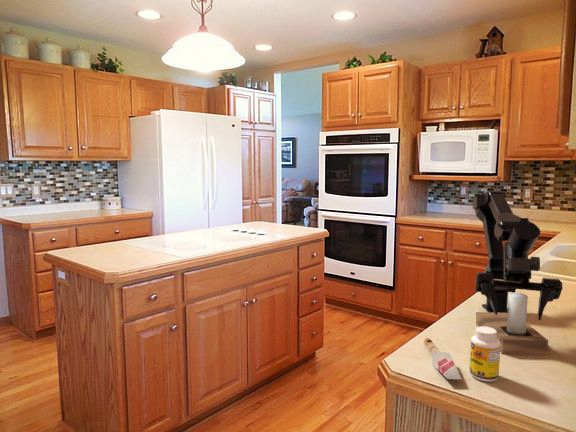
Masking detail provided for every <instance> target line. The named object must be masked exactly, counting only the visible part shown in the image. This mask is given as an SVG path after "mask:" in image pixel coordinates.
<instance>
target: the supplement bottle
mask: <svg viewBox="0 0 576 432" xmlns="http://www.w3.org/2000/svg"><path fill="white" fill-rule="evenodd" d="M470 340H471V341H470V357H469V358H470V359H469V374H470V375H471V376H472V377H473V378H474V379H476V380H479V381H482V382H487V383H488V382H489V383H490V382H496V381H497V380H498V379H499V377H500V376H499V375H500V361H501V352H500V341H499V340H498V339H497V331H496V330H495V329H493V328H490V327H485V326H480V327H478V326H476V328H475V334H474V335H473V336H472V337H471V338H470Z"/></svg>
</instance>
